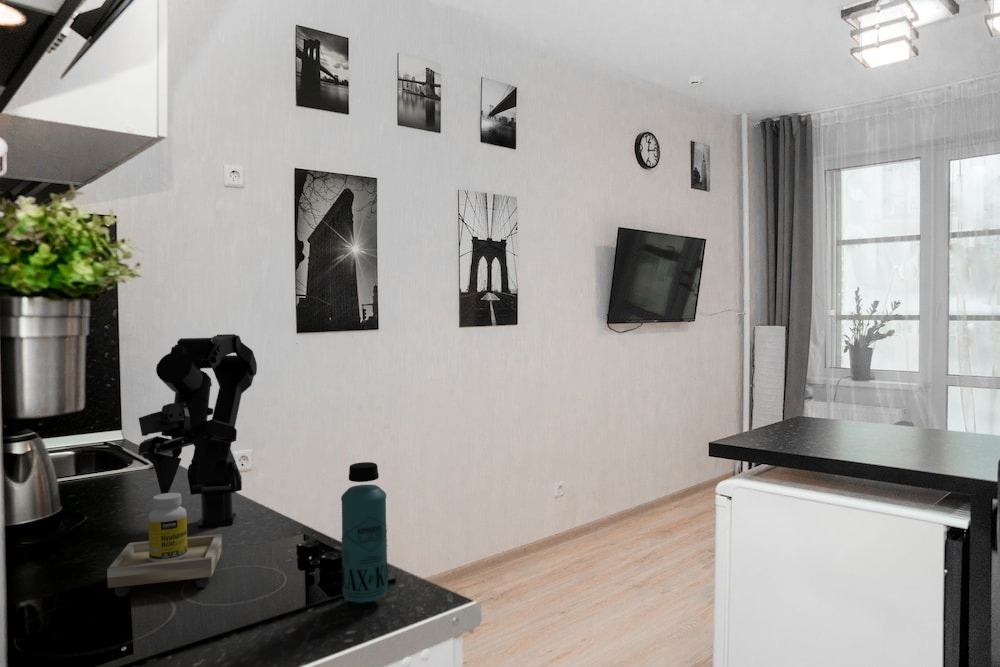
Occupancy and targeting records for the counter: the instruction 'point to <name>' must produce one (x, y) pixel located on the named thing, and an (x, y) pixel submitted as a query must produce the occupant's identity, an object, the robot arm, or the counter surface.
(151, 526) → the supplement bottle
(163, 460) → the robot arm
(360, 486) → the beverage bottle
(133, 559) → the shallow square tray
